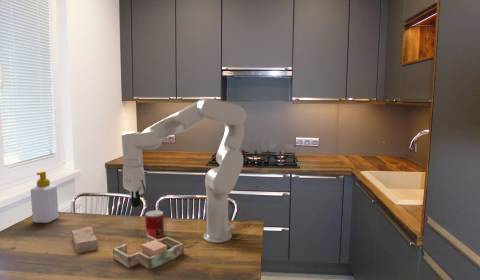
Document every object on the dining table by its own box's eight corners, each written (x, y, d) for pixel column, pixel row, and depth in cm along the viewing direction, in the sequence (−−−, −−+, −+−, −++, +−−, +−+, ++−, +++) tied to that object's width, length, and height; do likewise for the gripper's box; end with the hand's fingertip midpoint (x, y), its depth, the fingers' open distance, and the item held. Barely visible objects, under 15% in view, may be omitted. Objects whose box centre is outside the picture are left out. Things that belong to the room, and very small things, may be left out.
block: (155, 254, 145) (154, 239, 144) (167, 260, 139) (167, 245, 139) (142, 259, 140) (142, 244, 139) (154, 265, 135) (154, 250, 134)
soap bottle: (31, 222, 178) (27, 173, 174) (44, 216, 187) (40, 169, 183) (47, 223, 176) (44, 174, 173) (59, 217, 185) (56, 170, 182)
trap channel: (157, 240, 157) (157, 232, 156) (185, 253, 145) (185, 244, 144) (112, 257, 141) (111, 248, 141) (139, 273, 129) (138, 263, 128)
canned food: (159, 240, 157) (159, 216, 156) (142, 238, 159) (142, 215, 158) (166, 233, 165) (166, 210, 163) (150, 232, 166) (149, 209, 165)
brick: (98, 249, 149) (97, 238, 148) (76, 254, 145) (75, 242, 144) (91, 236, 163) (91, 226, 163) (71, 239, 159) (71, 229, 158)
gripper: (115, 161, 146) (118, 204, 149) (135, 166, 136) (138, 212, 139) (131, 158, 152) (134, 200, 154) (152, 162, 142) (154, 207, 144)
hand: (136, 205), depth 147 cm, fingers closed
